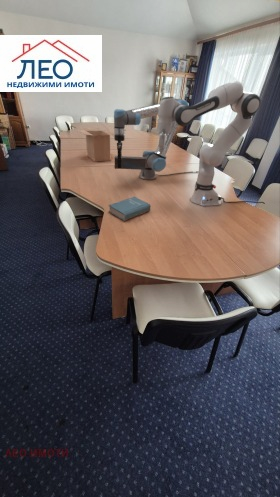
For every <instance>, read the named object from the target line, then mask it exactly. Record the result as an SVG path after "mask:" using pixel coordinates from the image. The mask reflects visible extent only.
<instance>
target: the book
mask: <svg viewBox="0 0 280 497" xmlns="http://www.w3.org/2000/svg"><path fill="white" fill-rule="evenodd" d="M151 206H152V205H151V204H150V203H148V202H147V201H144V200H142V199H141V198H138V197H137V196H131V197H128V198H126V199H123V200H119V201H117V202H114V203H110V204H108V207H109V210H108V213H110V214H111V215H113V216H115V217H117V218H118V219H120V220H122V222H125V221H127V220H130V219H132V218H134V217H137V216H141V215H142V214H145V213H147V212H150V211H151Z"/></svg>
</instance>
